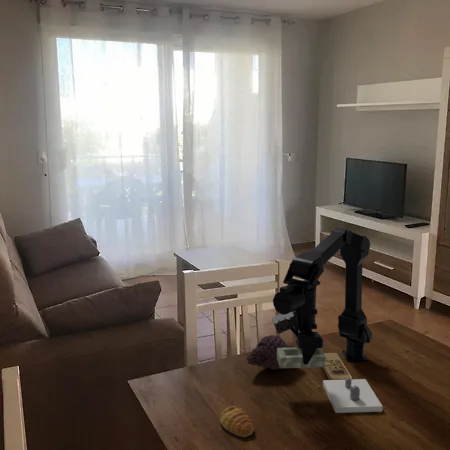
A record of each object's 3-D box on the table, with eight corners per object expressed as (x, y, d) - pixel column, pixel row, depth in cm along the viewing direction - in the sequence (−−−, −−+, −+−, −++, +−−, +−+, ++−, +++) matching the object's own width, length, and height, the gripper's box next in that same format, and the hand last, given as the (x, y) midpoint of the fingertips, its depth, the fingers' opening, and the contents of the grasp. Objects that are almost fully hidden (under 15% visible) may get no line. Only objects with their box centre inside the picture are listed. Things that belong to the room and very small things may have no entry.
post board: (322, 385, 145) (323, 368, 144) (365, 384, 146) (366, 367, 145) (335, 412, 131) (336, 394, 130) (382, 411, 132) (383, 393, 131)
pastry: (261, 433, 124) (261, 418, 123) (238, 443, 120) (238, 428, 119) (238, 414, 131) (238, 401, 130) (216, 423, 127) (216, 409, 127)
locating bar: (280, 368, 137) (280, 357, 136) (276, 358, 143) (277, 347, 142) (325, 367, 137) (325, 356, 137) (320, 356, 143) (320, 346, 143)
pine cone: (255, 382, 147) (255, 349, 145) (237, 368, 155) (237, 337, 153) (305, 367, 155) (306, 336, 153) (285, 355, 164) (286, 325, 162)
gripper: (269, 292, 146) (269, 344, 149) (279, 317, 127) (278, 376, 130) (309, 292, 146) (307, 343, 149) (324, 316, 128) (322, 375, 131)
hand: (303, 358), depth 140 cm, fingers closed on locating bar, 6 cm apart
